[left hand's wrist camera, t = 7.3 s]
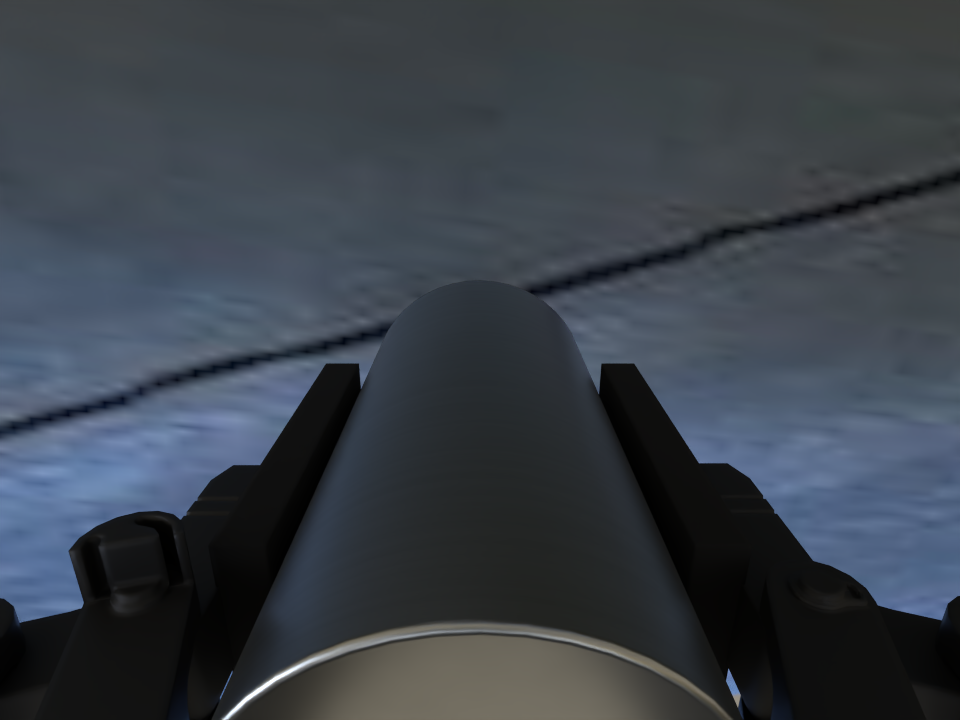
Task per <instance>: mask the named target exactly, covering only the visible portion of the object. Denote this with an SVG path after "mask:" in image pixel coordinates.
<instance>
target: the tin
mask: <svg viewBox="0 0 960 720" xmlns="http://www.w3.org/2000/svg"><path fill="white" fill-rule="evenodd" d="M212 720H743V718H742V716H741V714H740V712H739V709H738V707H737V705H736V703H735V700H734V698H733V696H732V694H731V691H730V689H729V687H728V685H727V682H726V680H725V678H724V676H723V673H722V671H721V669H720V667H719V664H718V662H717V660H716V658H715V655H714V653H713V651H712V649H711V646H710V644H709V642H708V640H707V637H706V635H705V633H704V631H703V628H702V626H701V624H700V622H699V619H698V617H697V615H696V613H695V610H694V608H693V606H692V604H691V601H690V599H689V597H688V595H687V592H686V590H685V588H684V586H683V583H682V581H681V579H680V576H679V574H678V572H677V570H676V567H675V565H674V563H673V561H672V558H671V556H670V554H669V552H668V549H667V547H666V545H665V543H664V540H663V538H662V536H661V534H660V531H659V529H658V527H657V525H656V522H655V520H654V518H653V516H652V513H651V511H650V509H649V507H648V504H647V502H646V500H645V498H644V495H643V493H642V491H641V489H640V486H639V484H638V482H637V480H636V477H635V475H634V473H633V471H632V468H631V466H630V464H629V462H628V459H627V457H626V455H625V453H624V450H623V448H622V446H621V444H620V441H619V439H618V437H617V435H616V432H615V430H614V428H613V426H612V423H611V421H610V419H609V417H608V414H607V412H606V410H605V408H604V405H603V403H602V401H601V399H600V396H599V394H598V392H597V390H596V387H595V385H594V383H593V381H592V378H591V376H590V374H589V372H588V369H587V367H586V365H585V363H584V360H583V358H582V356H581V353H580V351H579V349H578V347H577V344H576V342H575V340H574V338H573V336H572V333H571V332H570V330H569V329H568V327H567V325H566V324H565V322H564V321H563V320H562V319H561V318H560V316H559V315H558V314H557V313H556V312H555V311H554V310H553V309H552V308H551V307H550V306H549V305H547V304H546V303H545V302H543V301H542V300H541V299H539V298H538V297H536V296H535V295H533V294H531V293H529V292H527V291H525V290H523V289H520V288H517V287H514V286H512V285H509V284H504V283H499V282H494V281H481V280H480V281H465V282H459V283H454V284H450V285H447V286H444V287H440V288H438V289H436V290H433V291H431V292H429V293H427V294H425V295H424V296H422V297H421V298H419V299H417V300H416V301H414V302H413V303H412V304H411V305H410V306H408V307H407V308H406V309H405V310H404V311H403V312H402V313H401V314H400V315H399V316H398V318H397V319H396V320H395V321H394V323H393V324H392V326H391V327H390V329H389V330H388V332H387V334H386V336H385V338H384V340H383V342H382V344H381V347H380V349H379V351H378V353H377V355H376V358H375V360H374V362H373V364H372V366H371V369H370V371H369V373H368V375H367V378H366V380H365V382H364V384H363V386H362V389H361V391H360V393H359V395H358V397H357V400H356V402H355V404H354V406H353V408H352V411H351V413H350V415H349V417H348V419H347V422H346V424H345V426H344V428H343V430H342V433H341V435H340V437H339V439H338V442H337V444H336V446H335V448H334V450H333V453H332V455H331V457H330V459H329V461H328V464H327V466H326V468H325V470H324V472H323V475H322V477H321V479H320V481H319V483H318V486H317V488H316V490H315V492H314V494H313V497H312V499H311V501H310V503H309V506H308V508H307V510H306V512H305V514H304V517H303V519H302V521H301V523H300V525H299V528H298V530H297V532H296V534H295V536H294V539H293V541H292V543H291V545H290V547H289V550H288V552H287V554H286V556H285V558H284V561H283V563H282V565H281V567H280V570H279V572H278V574H277V576H276V578H275V581H274V583H273V585H272V587H271V589H270V592H269V594H268V596H267V598H266V600H265V603H264V605H263V607H262V609H261V611H260V614H259V616H258V618H257V620H256V622H255V625H254V627H253V629H252V631H251V634H250V636H249V638H248V640H247V642H246V645H245V647H244V649H243V651H242V653H241V656H240V658H239V660H238V662H237V664H236V667H235V669H234V671H233V673H232V675H231V678H230V680H229V682H228V684H227V686H226V689H225V691H224V693H223V695H222V698H221V700H220V702H219V704H218V706H217V709H216V711H215V713H214V715H213V717H212Z"/></svg>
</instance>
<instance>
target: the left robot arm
mask: <svg viewBox="0 0 960 720" xmlns="http://www.w3.org/2000/svg"><path fill="white" fill-rule="evenodd" d="M360 391H361V385H360V372H359V364H326V365H325V366H324V368H323V369H322V371H321V373H320V374H319V376H318V377H317V379H316V380H315V382H314V383H313V385H312V386H311V388H310V389H309V391H308V393H307V394H306V396H305V397H304V399H303V400H302V402H301V403H300V405H299V406H298V408H297V410H296V411H295V413H294V414H293V416H292V417H291V419H290V420H289V422H288V423H287V425H286V426H285V428H284V430H283V431H282V433H281V434H280V436H279V437H278V439H277V440H276V442H275V443H274V445H273V446H272V448H271V450H270V451H269V453H268V454H267V456H266V457H265V459H264V460H263V462H262V463H261V465H233V466H232V467H230V468H229V469H227V470H226V471H224V472H223V473H221V474H220V475H218V476H217V477H215V478H214V479H212V480H211V481H210V482H209V484H208V485H207V486H206V488H205V489H204V490H203V491H202V493H201V494H200V495H199V497H198V501H195V502H194V503H193V505H192V506H191V507H190V509H189V510H188V511H187V515H186V516H183V518H182V519H181V520H180V519H179V518H177V517H176V516H175V515H174V514H170V513H165V512H161V511H148V512H137V513H133V514H129V515H124V516H120V517H117V518H114V519H112V520H110V521H108V522H105V523H103V524H101V525H98V526H96V527H95V528H93V529H92V530H90V531H89V532H87V533H86V534H84V535H83V536H82V537H80V538H79V539H78V540H77V541H76V543H75V544H74V545H73V546H72V547H71V549H70V550H69V554H70V557H71V561H72V564H73V567H74V571H75V574H76V578H77V581H78V584H79V588H80V591H81V594H82V598H83V601H84V604H83V607H82V608H81V609H78V610H74V611H71V612H67V613H62V614H58V615H53V616H49V617H44V618H40V619H35V620H31V621H26V622H22V623H19V620H18V618H17V615H16V612H15V609H14V606H12V605H11V604H10V603H9V602H7V601H6V600H5V599H1V598H0V720H212V717H213V715H214V713H215V711H216V709H217V706H218V704H219V702H220V696H221V694H222V692H223V689H224V687H225V685H226V683H227V681H228V678H229V676H230V674H231V672H232V671H234V669H235V667H236V664H237V662H238V660H239V658H240V656H241V653H242V651H243V649H244V647H245V645H246V642H247V640H248V638H249V636H250V634H251V631H252V629H253V627H254V625H255V622H256V620H257V618H258V616H259V614H260V611H261V609H262V607H263V605H264V603H265V600H266V598H267V596H268V594H269V592H270V589H271V587H272V585H273V583H274V581H275V578H276V576H277V574H278V572H279V570H280V567H281V565H282V563H283V561H284V558H285V556H286V554H287V552H288V550H289V547H290V545H291V543H292V541H293V539H294V536H295V534H296V532H297V530H298V528H299V525H300V523H301V521H302V519H303V517H304V514H305V512H306V510H307V508H308V506H309V503H310V501H311V499H312V497H313V494H314V492H315V490H316V488H317V486H318V483H319V481H320V479H321V477H322V475H323V472H324V470H325V468H326V466H327V464H328V461H329V459H330V457H331V455H332V453H333V450H334V448H335V446H336V444H337V442H338V439H339V437H340V435H341V433H342V430H343V428H344V426H345V424H346V422H347V419H348V417H349V415H350V413H351V411H352V408H353V406H354V404H355V402H356V400H357V397H358V395H359V393H360ZM599 396H600V399H601V401H602V403H603V405H604V408H605V410H606V412H607V414H608V417H609V419H610V421H611V423H612V426H613V428H614V430H615V432H616V435H617V437H618V439H619V441H620V444H621V446H622V448H623V450H624V453H625V455H626V457H627V459H628V462H629V464H630V466H631V468H632V471H633V473H634V475H635V477H636V480H637V482H638V484H639V486H640V489H641V491H642V493H643V495H644V498H645V500H646V502H647V504H648V507H649V509H650V511H651V513H652V516H653V518H654V520H655V522H656V525H657V527H658V529H659V531H660V534H661V536H662V538H663V540H664V543H665V545H666V547H667V549H668V552H669V554H670V556H671V558H672V561H673V563H674V565H675V567H676V570H677V572H678V574H679V576H680V579H681V581H682V583H683V586H684V588H685V590H686V592H687V595H688V597H689V599H690V601H691V604H692V606H693V608H694V610H695V613H696V615H697V617H698V619H699V622H700V624H701V626H702V628H703V631H704V633H705V635H706V637H707V640H708V642H709V644H710V646H711V649H712V651H713V653H714V655H715V658H716V660H717V662H718V664H719V667H720V669H721V671H722V673H723V676H724V678H725V680H726V678H727V673H728V668H729V670H730V672H731V674H732V677H733V679H734V681H735V683H736V685H737V688H738V690H739V692H740V694H741V697H740V702H739V706H738V709H739V712H740V714H741V716H742V718H743V720H960V596H957V597H956V598H955V599H953V600H952V601H951V602H950V603H948V605H947V608H946V611H945V613H944V616H943V619H942V620H937V619H933V618H928V617H924V616H919V615H915V614H910V613H905V612H901V611H896V610H892V609H888V608H885V607H881V606H878V605H877V603H876V602H875V600H874V599H873V597H872V596H871V594H870V593H869V592H868V590H867V589H866V588H865V587H864V586H863V585H861V584H860V583H859V582H857V581H856V580H855V579H854V578H852V577H851V576H850V575H848V574H846V573H844V572H842V571H840V570H838V569H836V568H834V567H832V566H829V565H825V564H822V563H818V562H815V561H813V560H812V559H811V558H810V556H809V555H808V554H807V552H806V551H805V550H804V548H803V547H802V546H801V545H800V543H799V542H798V541H797V539H796V538H795V537H794V535H793V534H792V533H791V531H790V530H789V529H788V528H787V526H786V525H785V524H784V522H783V521H782V520H781V518H780V517H779V516H778V515H777V514H774V509H773V508H772V507H771V505H770V504H769V503H768V501H767V500H766V499H763V495H762V494H761V492H760V491H759V490H758V488H757V487H756V486H755V485H754V483H753V482H752V481H751V479H750V478H748V477H747V476H745V475H744V474H742V473H741V472H739V471H738V470H736V469H735V468H733V467H732V466H730V465H729V464H727V463H698V461H697V460H696V458H695V457H694V455H693V454H692V452H691V450H690V449H689V447H688V446H687V444H686V443H685V441H684V440H683V438H682V437H681V435H680V434H679V432H678V430H677V429H676V427H675V426H674V424H673V423H672V421H671V420H670V418H669V417H668V415H667V414H666V412H665V410H664V409H663V407H662V406H661V404H660V403H659V401H658V400H657V398H656V397H655V395H654V394H653V392H652V390H651V389H650V387H649V386H648V384H647V383H646V381H645V380H644V378H643V377H642V375H641V374H640V372H639V370H638V369H637V367H636V366H635V364H601V377H600V390H599Z"/></svg>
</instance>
